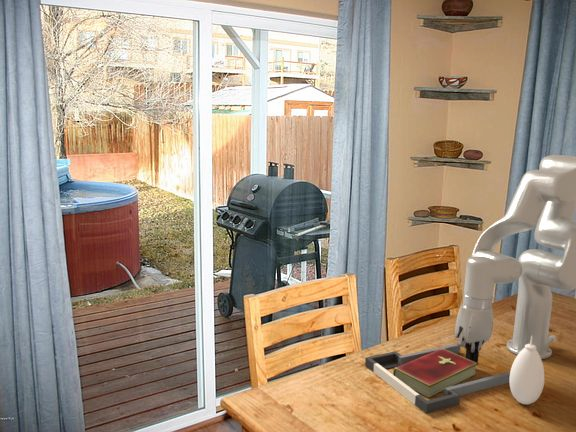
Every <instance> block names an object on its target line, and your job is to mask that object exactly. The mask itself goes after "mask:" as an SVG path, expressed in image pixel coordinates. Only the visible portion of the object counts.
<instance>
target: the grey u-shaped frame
mask: <svg viewBox="0 0 576 432" xmlns="http://www.w3.org/2000/svg"><path fill="white" fill-rule="evenodd" d="M441 348H444V349H446V350H448V351H451V352H453V353H455V354H460V353H461V346H459V345H457V343H454V344H449V345H445V346H440V347H435V348H432V349H425V350H422V351H416V352H412V353H408V354H407V353H406V354H401V353H399V352H397V351H395V350H394V351H391V352H385V353H381V354H375V355H372V356H366V357H365V358H364V359H365V361H364V366H365V367H366V368H367V369H368V370H370V371H371V372H372V373H373V374H375V375H376V376H377V377H379V378H380V379H381V380H382V381H384V382H385V383H386V384H388V385H389V386H391V387H392V389H394V390H395V391H397V392H398V393H399V394H400V395H402V396H403V398H405V399H406V400H408V401H410V402H411V403H412V404H413V405H414V406H416V407H417V408H418V409H420V410H421V411H422V412H423V413H424V414H429V413H432V412H433V413H434V412H436V411H437V412H438V411H441V410H443V409H444V410H445V409H448V408H451V407H454V406H458V405H460V400H461V399H460V398H461V396H465V395H468V394H472V393H477V392H480V391H484V390H486V389H491V388H495V387H498V386H502V385H506V384H509V378H510V371H505V372H502V373H498V374H494V375H491V376H490V375H489V376H486V377H481V378H480V379H475V380H471V381H467V382H466V381H465V382H462V383H460V384H458V385H455V386H451V387H447V388H445V390H444V392H443V395H442V396H440V397H439V396H438V397H435V398H432V399H431V398H430V399H426V397H424V396H423V395H421V394H419V393H417V392H415V391H414V390H413V389H411V388H410V387H409V386H407V385H406V384H405V383H403V382H402V381H401V380H399V379H398V378H397V377H395V376H394V375H393V373H391V372H390V371H389V369H390V370H391V369H394V368H396V367H398V366H401V365H403V364H405V363H408V362H410V361H413V360H415V359H417V358H420V357H422V356H425V355H427V354H429V353H432V352H434V351H437V350H439V349H441Z"/></svg>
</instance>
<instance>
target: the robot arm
mask: <svg viewBox="0 0 576 432" xmlns="http://www.w3.org/2000/svg"><path fill="white" fill-rule="evenodd" d="M538 165H539V168H538V169H531V170H528V171H526V172H525V173H524V174H523V176H522V177H521V179H520V182H519V183H518V186H517V188H516V190H515V193H514V195H513V197H512V199H511V201H510V204H509V206H508V208H507V210H506V213H505V214H504V215H503V217H501V218H499V219H498V220H497V221H495V222H494V223H492V224H491V225H490V226H489V227H487V229H485V230H484V231H483V232H482V233H481V234H480V236H479V237H478V240H477V241H476V243H475V246H474V247H473V248H474V249H473V251H472V253H471V255H470V256H471V257H469V258H467V260H466V266H465V267H466V269H465V277H464V278H465V280H464V288H463V289H464V290H463V298H462V304H460V306H459V309H458V313H457V316H456V321H455V327H454V337H455V338H456V339H458V341H457V343H456V344H457V345H459V346H460V348H461V347H462V348H464V349H465V358H467V359H469V360H472V361H474V362H476V363H478V364H479V355H480V352H481V350H482V347H483V345H484V344H485V343H487V342H488V341H490V339H491V337H492V334H493V328H494V309H493V306H492V305H493V299H494V287H495V284H504V285H506V284H508V285H509V284H513V283H515V282H517V281H518V289H517V291H518V292H517V299H516V307H515V308H516V309H515V316H514V317H515V318H514V327H513V335H512V338H511V339H509V340H507V342H506V349H508V351H510V352H511V353H513V354H515V355H516V356H517V355H518V354H519V352H520V351H521V350H522V349H524V348H525V345H526V344H530V340H531V336H532V345H535V346H536V350H537V352H538V353H539V355H540V357H541V360H544V359H548V358H550V357H551V356H552V353H553V352H552V349H551V348H550V347H549V344H550V343H554V342H557V340H558V339H557V336H556V335H549V330H550V322H551V315H552V308H553V307H552V305H553V293H552V289H551V288H553V289H556V290H559V291H562V292H563V291H564V292H570V291H572V290H574V289H576V219H574V216H575V213H576V156H573V155H564V154H551V155H546V156H544V157H542V159H541V160H540V163H539V164H538ZM534 229H535V230H534ZM532 230H534V234H533V235H534V236H533V238H534V241H535V242H536V243H537V244H538V245H540V246H543V247H546V248H549V249H552V250H553V249H554V250H557V251H561V252H564V253H563V255H561V254H560V255H559V254H557V253H553V252H550V251H546V250H542V249H536V248H535V249H534V248H533V249H532V248H531V249H526V250H525V251H523V252H522V253H521V254H520V255H519V256H518V259H517V258H515V257H512V256H509V255H505V254H503V253H500V252H497V251H494V250H495V249H496V246H497V245H498V244H499V243H500V242H501V241H502V240H503V239H505V238H508V237H510V236H512V235H515V234H519V233H523V232H528V231H532Z"/></svg>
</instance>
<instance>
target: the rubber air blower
mask: <svg viewBox="0 0 576 432" xmlns="http://www.w3.org/2000/svg"><path fill="white" fill-rule="evenodd" d="M509 373H510V378H509V383H508V384H509V388H510V392H511V394H512V397H513V398H514V399H516V401H517V402H518V403H520V404H522V405H531V404H532V403H535V402H536V401H538V399H539V398H540V396H541V394H542V392H543V389H544V385H545V369H544V363H543V359H541V357H540V355H539V353H538V352H537V350H536V346H535V345H532V336H531V340H530V344H526V345H525V348H524V349H522V350H521V351H520V352H519V354H518V355H516V357H515V358H514V361H513V362H512V365H511V368H510V371H509Z"/></svg>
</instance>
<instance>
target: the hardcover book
mask: <svg viewBox="0 0 576 432" xmlns="http://www.w3.org/2000/svg"><path fill="white" fill-rule="evenodd" d="M465 357H466V356H465ZM465 357H464V356H462V355H460V354H459V353H457V354H455V353H453V352H451V351H448V350H446V349H444V348H441V349H439V350H437V351H434V352H432V353H429V354H427V355H425V356H422V357H420V358H417V359H415V360H413V361H410V362H408V363H405V364H403V365H401V366H398V367H395V368H393V371H392V374H393V375H394V376H395V377H397V378H398V379H399V380H401V381H402V382H403V383H405V384H406V385H407V386H409V387H410V388H411V389H413V390H414V391H415V392H417V393H418V394H419V395H421V396H422V397H424V398H425V399H426V398H427V400H431V398H432V399H433V397H435V396H437V395H440V394H442V393H444V390H445V388H447V387H451V386H455V385H459V384H463V383H465V382H466V381H468V380H470V379H472V378H474V377H476V376H477V374H476V366H478V364H479V362H478V363H476V362H474V361H472V360H469V359H467V358H465Z"/></svg>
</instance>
